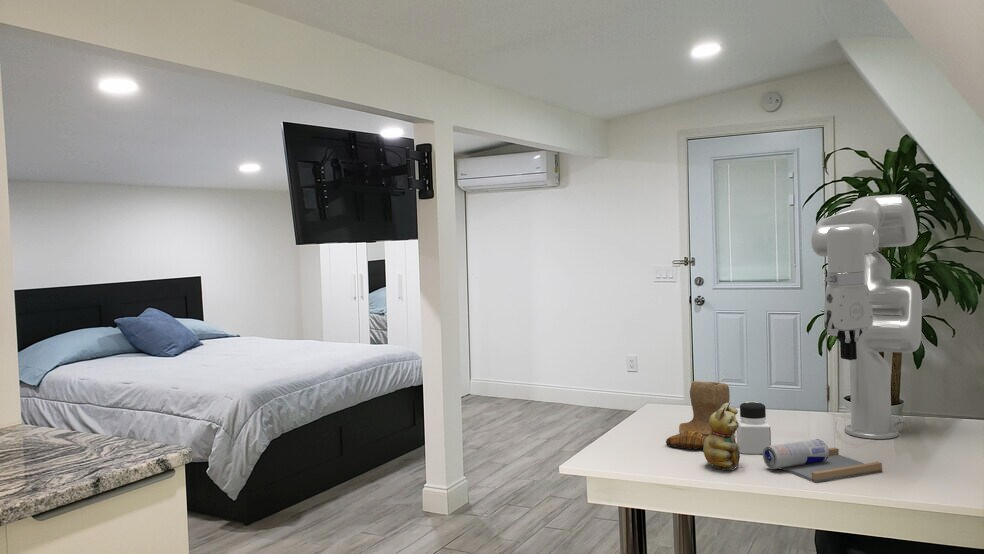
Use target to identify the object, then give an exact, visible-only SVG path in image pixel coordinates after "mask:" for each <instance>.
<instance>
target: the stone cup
mask: <svg viewBox="0 0 984 554" xmlns="http://www.w3.org/2000/svg"><path fill="white" fill-rule="evenodd" d="M689 397H690V402H691V408H692V414H693V416H692V419H691V420H690V421H688V422H682V423H679V426H678V432H679V433H678V434H682V433H683V432H686V431H689V430H691V429H692V430H694V431H697V432H699V433H701V434H702V435H704V436H707V437H708V436H709V435H710V431H711V430H712V429H711V428H710V425H709V419H710V416H711V415H712V414H713V413H714V412H717V410H719V409H720V408H721V406H722V405H723V404H725V403H730V387H729V385H728V384H727V383H725V382H719V381H718V382H716V381H699V380H694V381H692V382H691V385H690V388H689ZM735 434H736V431H735V432H734V433H733V436H734V435H735Z"/></svg>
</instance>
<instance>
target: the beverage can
mask: <svg viewBox="0 0 984 554" xmlns="http://www.w3.org/2000/svg"><path fill="white" fill-rule="evenodd" d="M828 456H829V446H828V445H827V444H826V442H825V441H823V440H822V439H821V438H820V439H817V438H815V439H809V440H804V441H795V442H788V443H781V444H774V445H771V446H767V447H765V448H764V450H763V454H762V459H763V461H764V464H765V466H766V467H767V468H768V469H772V470H776V469H780V468H783V467H790V466H796V465H803V464H809V463H816V462H822V461H825V460H827V458H828Z"/></svg>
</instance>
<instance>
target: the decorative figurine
mask: <svg viewBox="0 0 984 554" xmlns="http://www.w3.org/2000/svg"><path fill="white" fill-rule="evenodd" d="M730 405H731V403H730V402H729V403H725V404H723V405H722V406H721V408H720V409H719V410H717V412H714V413H713V414H712V415H711V416H710V419H709V425H710V428H711V429H712V430H711V431H710V435H709V436H708V437H707V438H706V440H705V443H704V448H703V450H702V451H703V455H704V458H705V460H706V462H707V463H709V464H710V465H711V468H712V469H718V470H722V469H723V470H724V471H728V470H732V471H733V469H734V470H735V469H736V468H737V467H738V466H739V465H738V464H739V463H740V458H741V452H740V450H739V445H738V444H737V440H736V438H735V437H734V435H733V433H734V432H735V433H736V432H737V428H738V425H739V424H738V422H737V418H736V415H737V414H738V409H737V408H736V407H734V406H730ZM737 465H738V466H737ZM736 466H737V467H736ZM735 467H736V468H735ZM723 470H722V471H723Z"/></svg>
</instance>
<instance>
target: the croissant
mask: <svg viewBox="0 0 984 554" xmlns="http://www.w3.org/2000/svg"><path fill="white" fill-rule="evenodd" d="M706 438H707V436H704V435H702V434H701V433H699V432H697V431H694V430H692V429H691V430H689V431H686V432H683V433H682V434H680V433H677V434H675V435H671V436H669V437H667V438H666V439H665V444H666V446H669V447H672V448H680V449H687V450H702V451H703V448H704V443H705V440H706Z"/></svg>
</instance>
